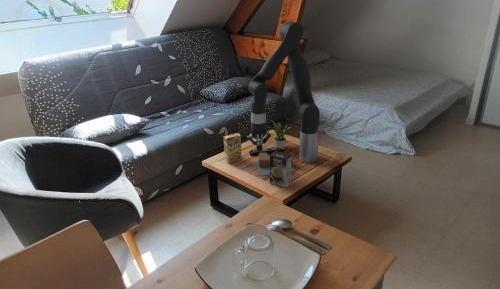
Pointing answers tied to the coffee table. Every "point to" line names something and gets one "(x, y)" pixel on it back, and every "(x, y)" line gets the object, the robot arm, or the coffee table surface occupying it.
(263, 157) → the wooden block
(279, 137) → the house plant
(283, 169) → the coffee box
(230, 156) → the candy box
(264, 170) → the slate rubber mat
